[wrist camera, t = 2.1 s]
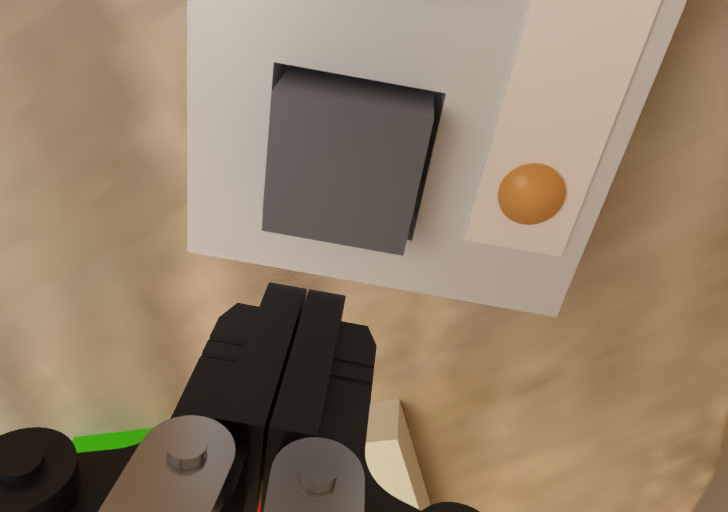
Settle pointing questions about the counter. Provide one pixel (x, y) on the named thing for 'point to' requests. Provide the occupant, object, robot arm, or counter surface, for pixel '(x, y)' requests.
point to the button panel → (433, 130)
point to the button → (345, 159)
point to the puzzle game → (382, 452)
